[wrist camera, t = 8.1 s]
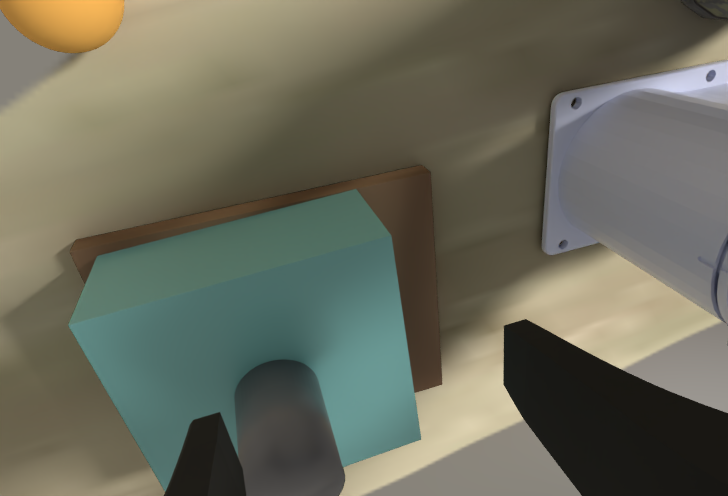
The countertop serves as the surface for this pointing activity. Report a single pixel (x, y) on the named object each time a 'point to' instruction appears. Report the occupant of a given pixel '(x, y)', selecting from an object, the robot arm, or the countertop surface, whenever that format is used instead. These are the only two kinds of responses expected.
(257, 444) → the cover
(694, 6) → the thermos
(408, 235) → the walnut board
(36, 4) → the ball
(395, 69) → the countertop surface
